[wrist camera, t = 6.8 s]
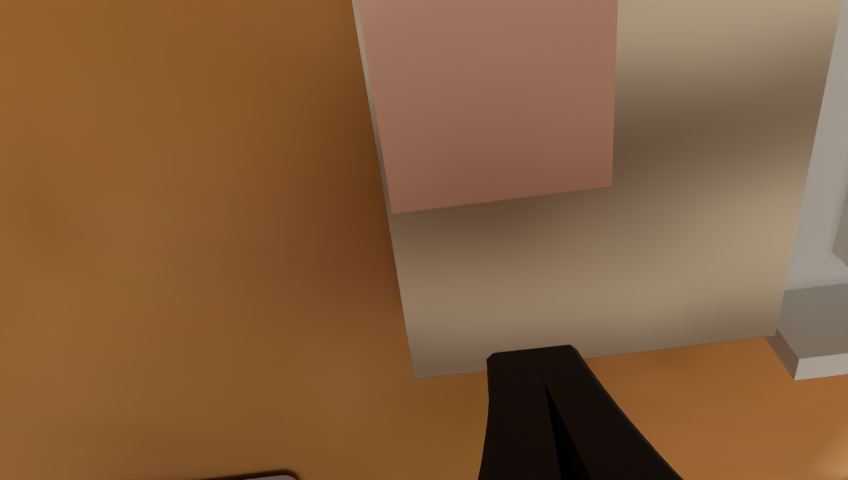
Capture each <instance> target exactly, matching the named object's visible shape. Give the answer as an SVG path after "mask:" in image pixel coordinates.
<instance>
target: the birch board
mask: <svg viewBox="0 0 848 480" xmlns="http://www.w3.org/2000/svg"><path fill="white" fill-rule="evenodd" d="M352 5H353V11H354V17H355V23H356V29H357V35H358V41H359V47H360V53H361V59H362V65H363V72H364V78H365V84H366V90H367V96H368V102H369V108H370V114H371V120H372V126H373V132H374V138H375V144H376V150H377V156H378V162H379V168H380V174H381V180H382V186H383V192H384V198H385V204H386V210H387V216H388V222H389V228H390V234H391V241H392V247H393V253H394V259H395V265H396V271H397V277H398V283H399V289H400V295H401V301H402V307H403V313H404V319H405V325H406V331H407V337H408V343H409V349H410V355H411V361H412V367H413V373H414V379H422V378H431V377H439V376H447V375H455V374H463V373H472V372H480V371H487V361H486V359H487V358H488V357H489V356H490V355H491V354H493V353H496V352H505V351H514V350H524V349H533V348H542V347H551V346H560V345H569V344H570V345H572V346H573V347H574V348H576V349H577V351H578V352H579V354H580V355H581V357H582V358H583V359H586V358H594V357H603V356H611V355H619V354H627V353H635V352H644V351H652V350H660V349H668V348H676V347H684V346H693V345H701V344H709V343H717V342H725V341H734V340H742V339H750V338H758V337H766V336H775V334H776V329H777V324H778V319H779V314H780V309H781V304H782V299H783V294H784V289H785V284H786V279H787V274H788V269H789V264H790V259H791V254H792V249H793V244H794V239H795V234H796V229H797V224H798V219H799V214H800V209H801V204H802V200H803V195H804V190H805V185H806V180H807V175H808V170H809V165H810V160H811V155H812V150H813V145H814V140H815V135H816V130H817V125H818V120H819V115H820V110H821V105H822V100H823V95H824V90H825V85H826V80H827V75H828V70H829V65H830V60H831V55H832V50H833V45H834V40H835V35H836V30H837V25H838V20H839V15H840V10H841V5H842V0H618V15H617V45H616V75H615V105H614V135H613V165H612V186H609V187H602V188H594V189H586V190H578V191H570V192H562V193H554V194H546V195H538V196H530V197H522V198H514V199H506V200H498V201H490V202H482V203H475V204H467V205H459V206H451V207H443V208H435V209H427V210H419V211H411V212H403V213H395V214H392V209H391V203H390V197H389V191H388V184H387V178H386V172H385V166H384V160H383V153H382V147H381V141H380V135H379V129H378V122H377V116H376V110H375V104H374V97H373V91H372V85H371V79H370V73H369V66H368V60H367V54H366V48H365V42H364V35H363V29H362V23H361V17H360V11H359V4H358V0H352Z"/></svg>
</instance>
